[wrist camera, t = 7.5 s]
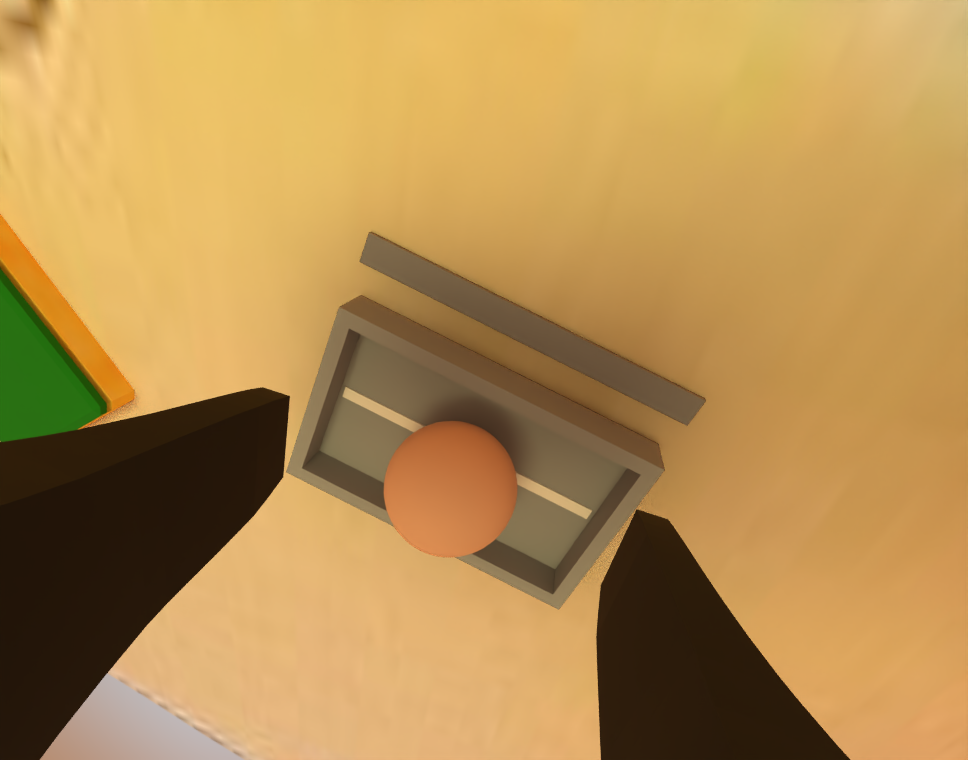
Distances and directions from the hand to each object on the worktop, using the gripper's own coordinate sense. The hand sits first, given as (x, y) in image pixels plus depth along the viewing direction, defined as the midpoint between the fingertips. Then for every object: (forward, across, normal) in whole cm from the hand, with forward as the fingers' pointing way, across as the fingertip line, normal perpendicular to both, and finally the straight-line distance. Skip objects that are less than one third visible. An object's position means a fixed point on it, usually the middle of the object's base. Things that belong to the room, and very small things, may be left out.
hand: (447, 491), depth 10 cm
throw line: (+10, 0, 0) cm, 10 cm away
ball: (+7, +1, +6) cm, 9 cm away
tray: (+10, +1, +6) cm, 12 cm away
